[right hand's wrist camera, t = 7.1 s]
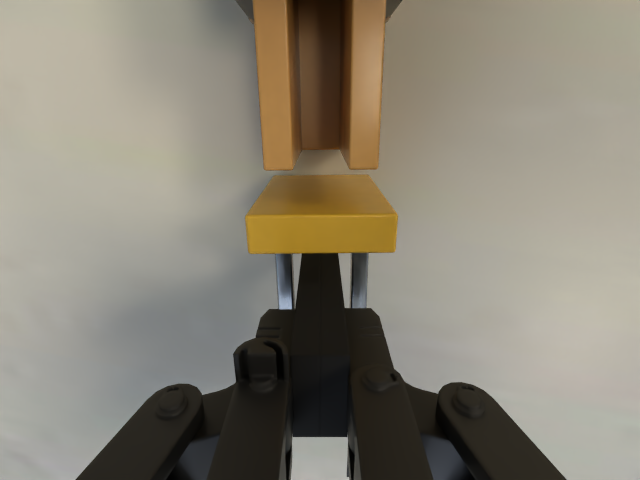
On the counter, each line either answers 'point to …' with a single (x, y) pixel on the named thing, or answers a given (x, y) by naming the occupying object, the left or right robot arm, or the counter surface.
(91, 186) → the counter surface
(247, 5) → the dark grey box
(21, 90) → the counter surface
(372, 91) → the drawer
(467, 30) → the counter surface
